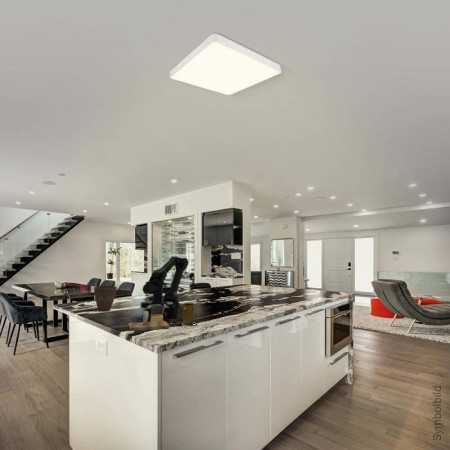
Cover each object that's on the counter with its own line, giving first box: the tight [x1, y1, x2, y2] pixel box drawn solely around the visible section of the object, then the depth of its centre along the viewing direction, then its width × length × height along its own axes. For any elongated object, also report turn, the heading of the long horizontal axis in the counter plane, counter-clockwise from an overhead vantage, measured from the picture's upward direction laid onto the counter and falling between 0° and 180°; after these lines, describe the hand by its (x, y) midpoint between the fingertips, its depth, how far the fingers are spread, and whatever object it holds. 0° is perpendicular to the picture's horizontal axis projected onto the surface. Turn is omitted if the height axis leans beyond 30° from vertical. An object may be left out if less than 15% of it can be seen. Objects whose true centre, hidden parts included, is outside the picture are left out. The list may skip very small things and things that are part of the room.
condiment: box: [181, 302, 195, 327], centre depth 171 cm, size 7×8×12 cm
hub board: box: [128, 310, 170, 332], centre depth 162 cm, size 20×12×8 cm, turn 111°
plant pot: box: [93, 285, 118, 312], centre depth 206 cm, size 15×15×16 cm
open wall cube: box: [149, 313, 164, 322], centre depth 175 cm, size 7×7×4 cm
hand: (156, 319), depth 175 cm, fingers closed on open wall cube, 7 cm apart
